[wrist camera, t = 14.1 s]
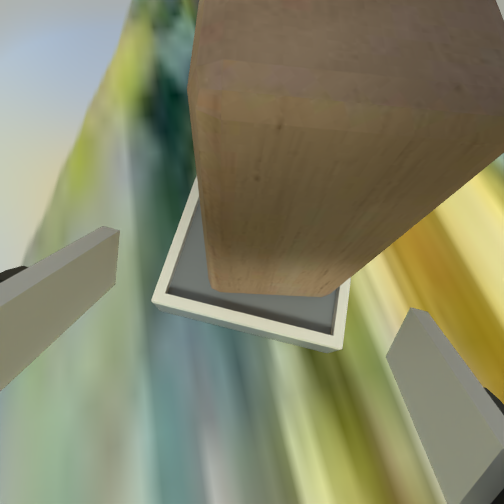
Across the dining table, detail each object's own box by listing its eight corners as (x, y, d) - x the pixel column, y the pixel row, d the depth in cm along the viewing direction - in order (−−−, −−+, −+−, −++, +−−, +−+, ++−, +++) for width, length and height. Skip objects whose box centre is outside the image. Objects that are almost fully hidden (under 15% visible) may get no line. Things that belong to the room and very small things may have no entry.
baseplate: (347, 207, 34) (361, 187, 31) (327, 353, 28) (342, 348, 25) (207, 172, 34) (206, 148, 31) (159, 310, 28) (151, 300, 25)
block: (216, 188, 30) (210, -124, 12) (323, 196, 31) (478, -86, 12) (208, 294, 26) (178, 85, 8) (329, 300, 27) (567, 121, 8)
